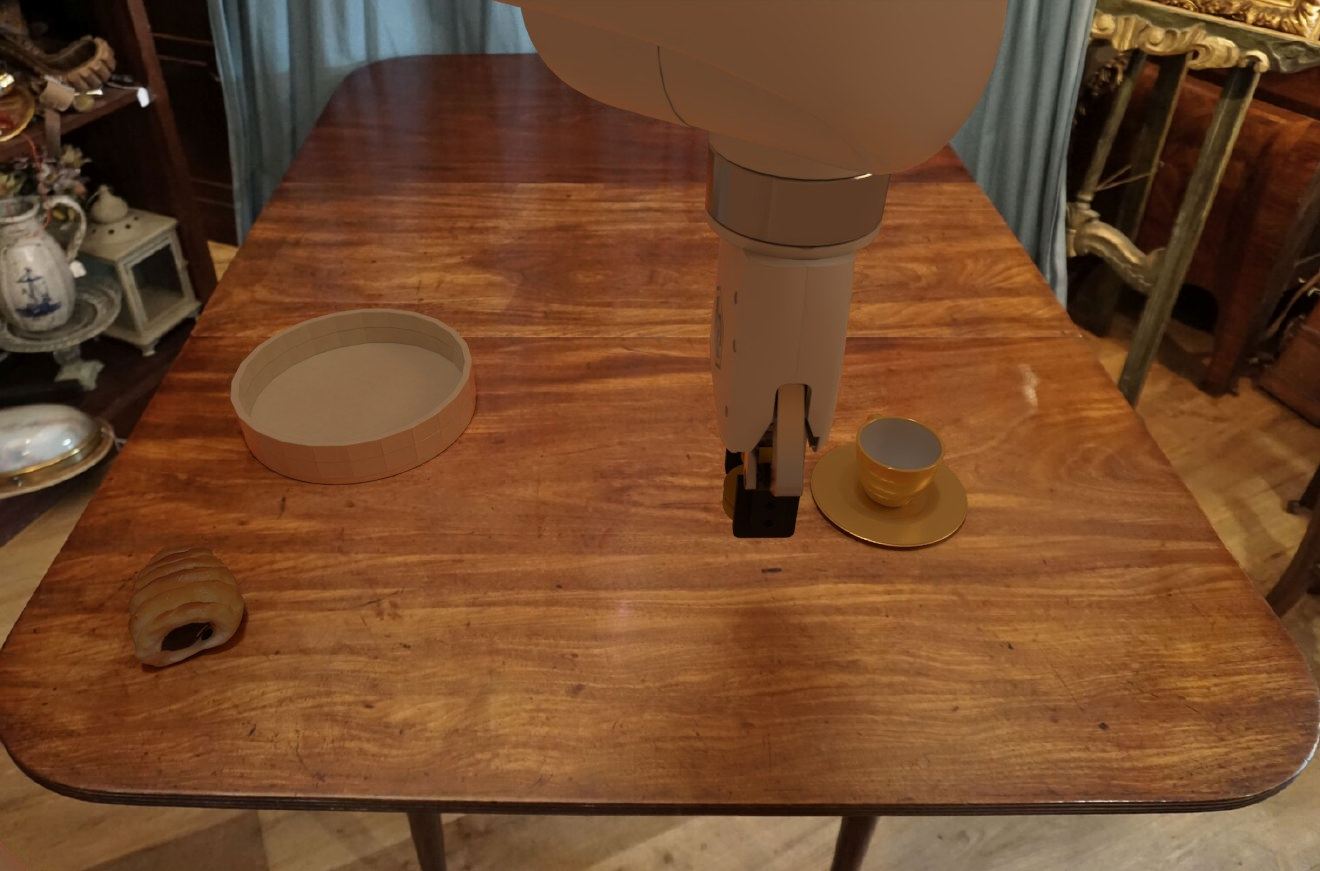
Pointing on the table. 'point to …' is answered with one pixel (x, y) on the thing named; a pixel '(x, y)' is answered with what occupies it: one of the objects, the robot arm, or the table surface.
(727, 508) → the chess piece
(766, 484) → the robot arm
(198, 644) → the pastry
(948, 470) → the cup
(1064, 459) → the table surface
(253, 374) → the bowl
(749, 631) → the table surface
